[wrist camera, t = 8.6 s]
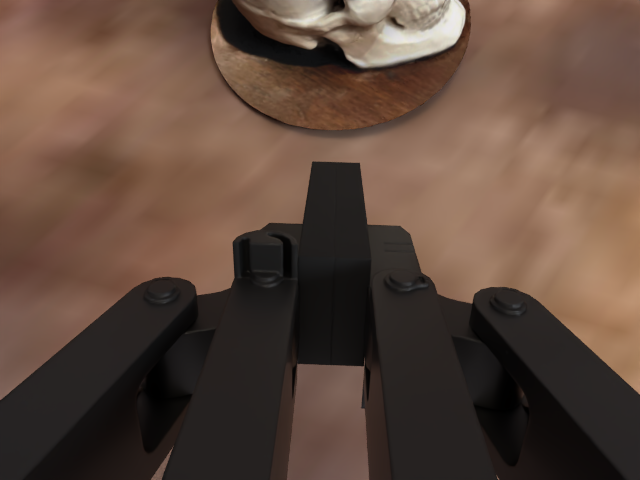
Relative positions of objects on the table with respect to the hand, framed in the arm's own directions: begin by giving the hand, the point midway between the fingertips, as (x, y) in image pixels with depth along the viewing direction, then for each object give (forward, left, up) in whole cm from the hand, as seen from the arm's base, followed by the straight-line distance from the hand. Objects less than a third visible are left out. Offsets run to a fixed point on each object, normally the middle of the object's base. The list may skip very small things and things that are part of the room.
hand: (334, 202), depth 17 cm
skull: (-2, +11, -5) cm, 12 cm away
